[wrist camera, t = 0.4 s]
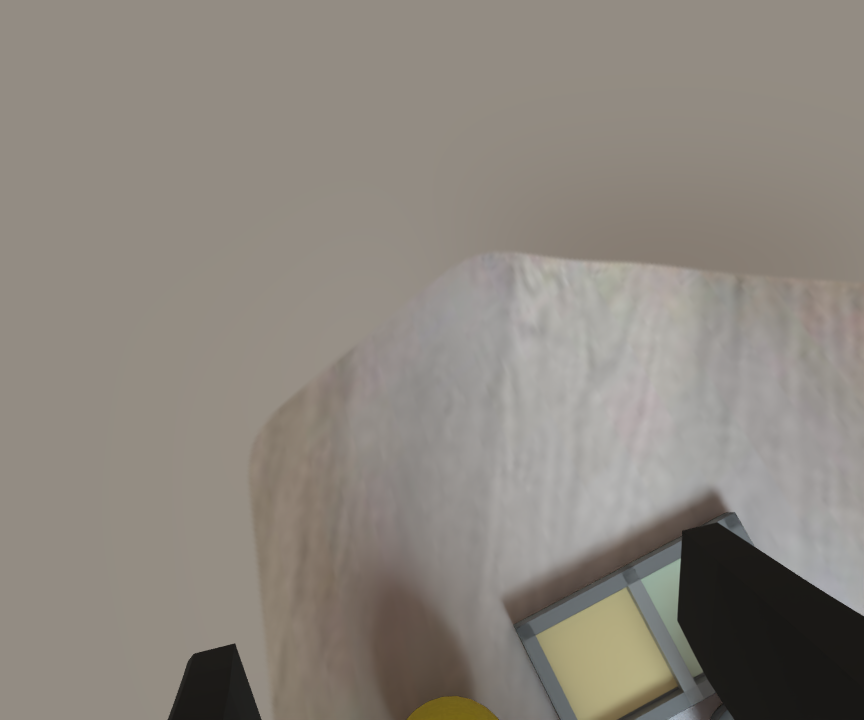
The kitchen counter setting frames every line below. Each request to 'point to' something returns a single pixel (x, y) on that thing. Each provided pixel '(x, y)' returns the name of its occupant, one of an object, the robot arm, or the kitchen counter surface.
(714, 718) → the cell
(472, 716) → the lemon
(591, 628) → the checker tray
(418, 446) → the kitchen counter surface
